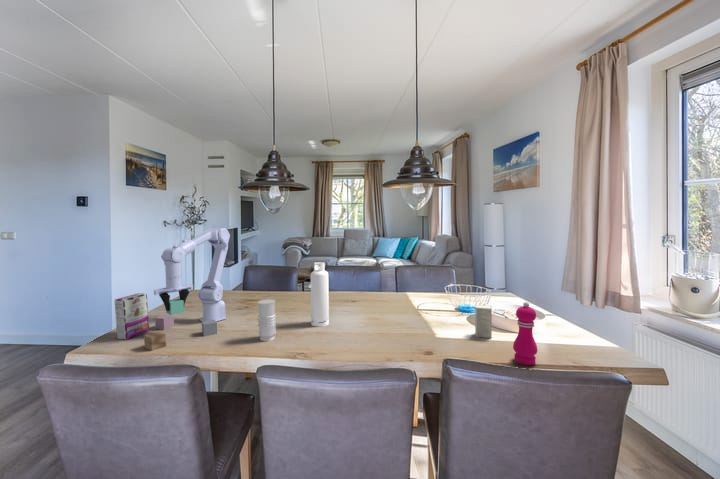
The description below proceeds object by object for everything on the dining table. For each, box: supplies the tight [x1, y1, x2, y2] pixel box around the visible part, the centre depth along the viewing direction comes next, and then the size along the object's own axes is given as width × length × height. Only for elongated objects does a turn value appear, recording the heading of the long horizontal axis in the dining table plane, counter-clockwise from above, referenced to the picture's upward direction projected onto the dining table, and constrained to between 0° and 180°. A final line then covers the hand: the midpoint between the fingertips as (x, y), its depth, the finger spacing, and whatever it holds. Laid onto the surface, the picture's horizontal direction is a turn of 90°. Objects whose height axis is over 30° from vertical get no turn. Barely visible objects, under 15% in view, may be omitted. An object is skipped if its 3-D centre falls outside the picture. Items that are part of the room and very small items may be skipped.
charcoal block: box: [201, 319, 218, 337], centre depth 137 cm, size 5×5×5 cm
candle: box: [257, 298, 277, 342], centre depth 131 cm, size 7×7×15 cm
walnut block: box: [143, 330, 167, 352], centre depth 122 cm, size 5×5×5 cm
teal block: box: [165, 298, 185, 316], centre depth 137 cm, size 5×5×5 cm
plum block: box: [154, 314, 175, 331], centre depth 145 cm, size 5×5×5 cm
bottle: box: [310, 261, 330, 327], centre depth 148 cm, size 8×8×28 cm
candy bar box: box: [114, 292, 150, 341], centre depth 135 cm, size 11×5×16 cm, turn 168°
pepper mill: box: [512, 301, 538, 366], centre depth 108 cm, size 7×7×20 cm
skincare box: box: [474, 304, 493, 339], centre depth 132 cm, size 6×4×12 cm
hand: (175, 309), depth 137 cm, fingers closed on teal block, 5 cm apart
